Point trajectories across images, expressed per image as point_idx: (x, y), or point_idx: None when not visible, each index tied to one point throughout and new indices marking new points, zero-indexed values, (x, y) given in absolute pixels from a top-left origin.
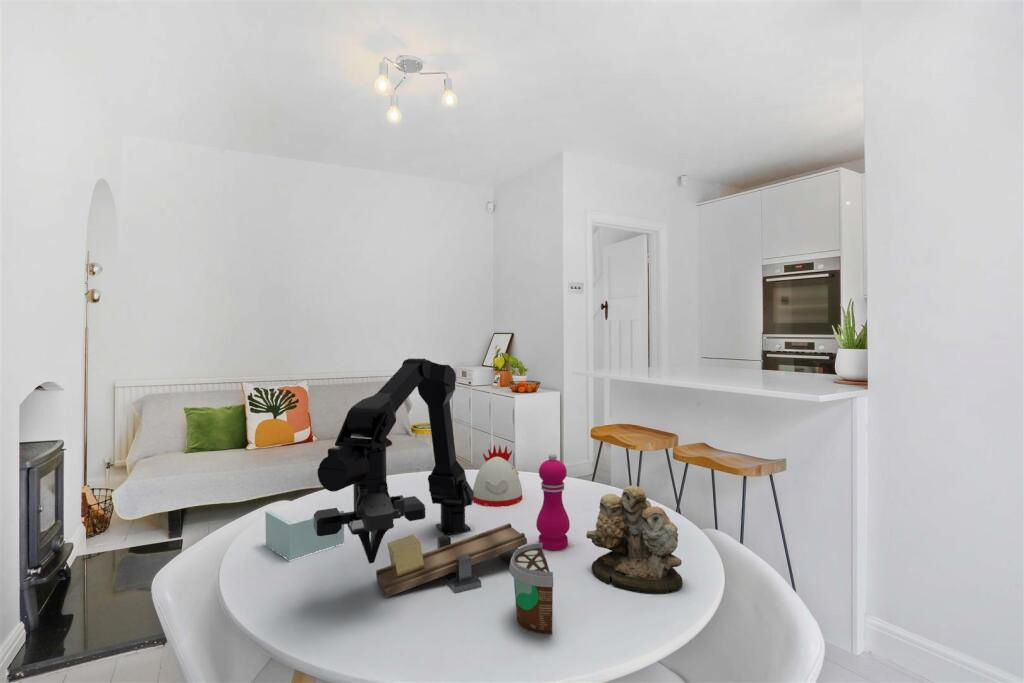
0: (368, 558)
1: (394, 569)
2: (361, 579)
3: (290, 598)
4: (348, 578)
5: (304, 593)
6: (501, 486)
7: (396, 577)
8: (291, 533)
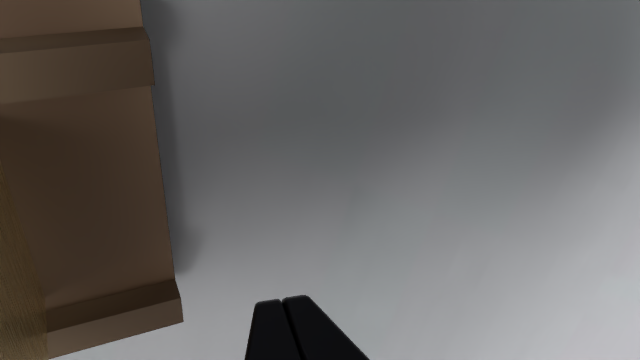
0: (340, 334)
1: (13, 250)
2: None
3: (634, 212)
4: None
5: (566, 239)
6: None
7: (3, 175)
8: None
